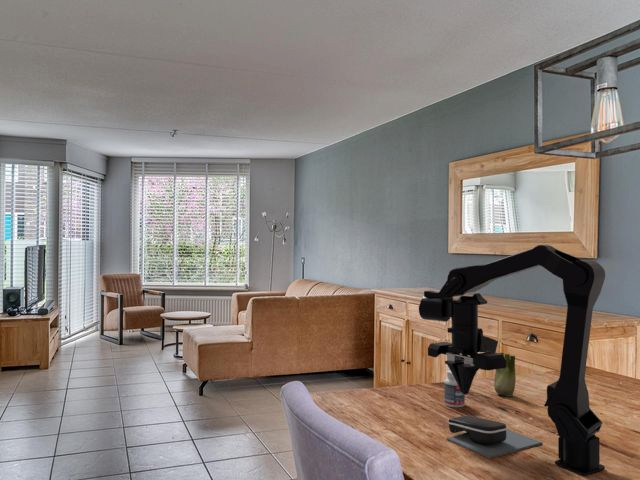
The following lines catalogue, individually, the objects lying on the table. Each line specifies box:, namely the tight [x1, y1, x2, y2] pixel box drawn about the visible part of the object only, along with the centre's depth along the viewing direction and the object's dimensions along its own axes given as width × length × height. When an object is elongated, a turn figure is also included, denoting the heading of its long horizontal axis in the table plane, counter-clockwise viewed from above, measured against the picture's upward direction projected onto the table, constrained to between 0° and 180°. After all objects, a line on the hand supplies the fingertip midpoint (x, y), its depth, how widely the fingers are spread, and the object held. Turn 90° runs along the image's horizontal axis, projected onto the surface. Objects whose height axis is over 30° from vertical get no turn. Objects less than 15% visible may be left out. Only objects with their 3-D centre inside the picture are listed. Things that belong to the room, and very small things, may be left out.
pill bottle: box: [443, 369, 466, 408], centre depth 145 cm, size 5×5×9 cm
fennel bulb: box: [493, 352, 517, 397], centre depth 154 cm, size 6×5×12 cm
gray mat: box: [446, 429, 543, 459], centre depth 117 cm, size 12×16×1 cm
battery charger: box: [448, 414, 507, 445], centre depth 118 cm, size 7×4×11 cm
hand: (465, 394), depth 121 cm, fingers closed
